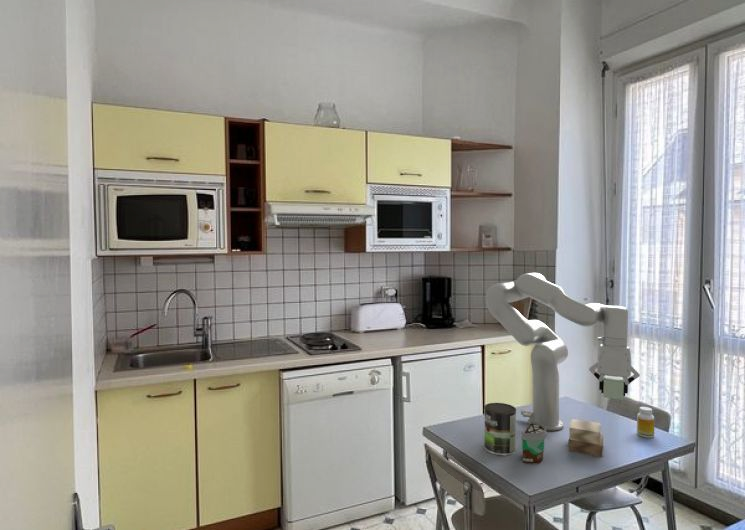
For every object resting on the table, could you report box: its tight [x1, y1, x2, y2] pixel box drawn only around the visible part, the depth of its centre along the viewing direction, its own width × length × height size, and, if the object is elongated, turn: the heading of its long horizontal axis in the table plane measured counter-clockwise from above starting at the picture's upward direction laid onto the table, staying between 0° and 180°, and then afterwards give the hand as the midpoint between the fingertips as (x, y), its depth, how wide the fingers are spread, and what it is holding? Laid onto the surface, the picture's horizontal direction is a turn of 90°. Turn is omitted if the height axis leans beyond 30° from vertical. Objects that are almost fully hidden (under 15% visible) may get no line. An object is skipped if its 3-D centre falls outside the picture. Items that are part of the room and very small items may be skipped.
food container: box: [521, 421, 548, 465], centre depth 145 cm, size 12×6×10 cm, turn 148°
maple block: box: [568, 418, 602, 445], centre depth 154 cm, size 9×9×4 cm
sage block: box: [602, 375, 624, 401], centre depth 157 cm, size 6×6×6 cm
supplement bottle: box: [636, 406, 655, 439], centre depth 164 cm, size 5×5×10 cm
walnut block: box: [568, 434, 604, 457], centre depth 154 cm, size 10×10×4 cm
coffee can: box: [483, 402, 517, 457], centre depth 153 cm, size 10×10×14 cm
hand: (613, 393), depth 157 cm, fingers closed on sage block, 6 cm apart
